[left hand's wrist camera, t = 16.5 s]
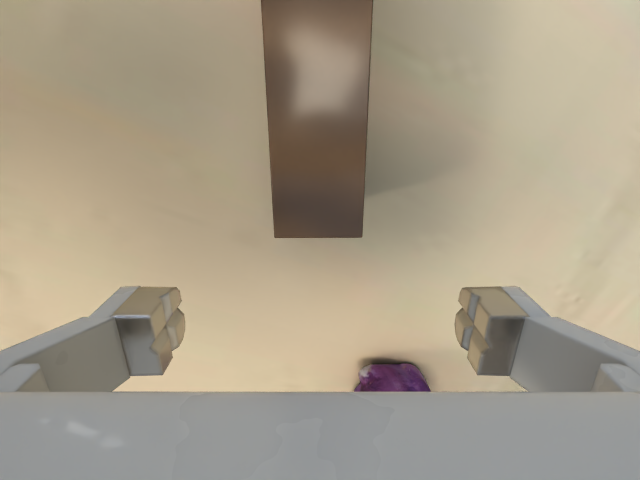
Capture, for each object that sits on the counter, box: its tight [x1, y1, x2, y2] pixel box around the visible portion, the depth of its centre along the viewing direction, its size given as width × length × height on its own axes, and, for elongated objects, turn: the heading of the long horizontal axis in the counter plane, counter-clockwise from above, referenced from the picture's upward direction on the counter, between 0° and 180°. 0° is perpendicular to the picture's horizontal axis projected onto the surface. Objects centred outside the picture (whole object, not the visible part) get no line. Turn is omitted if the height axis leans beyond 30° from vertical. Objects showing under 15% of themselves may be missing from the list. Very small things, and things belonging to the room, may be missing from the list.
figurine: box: [354, 363, 431, 392], centre depth 33 cm, size 9×10×15 cm
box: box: [261, 0, 373, 238], centre depth 22 cm, size 26×6×9 cm, turn 0°
